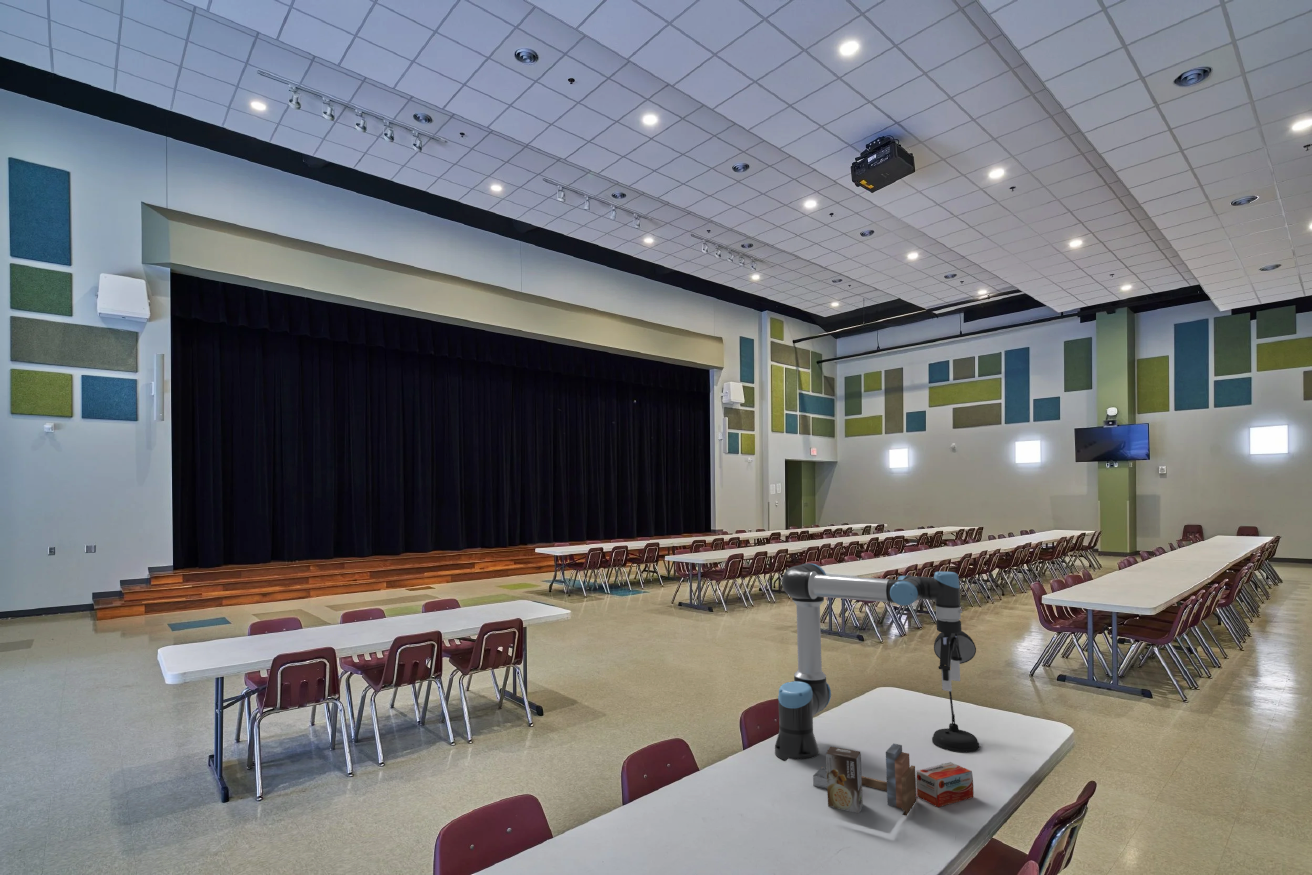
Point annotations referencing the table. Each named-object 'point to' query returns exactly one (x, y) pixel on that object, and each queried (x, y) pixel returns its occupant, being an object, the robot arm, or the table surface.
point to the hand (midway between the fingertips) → (951, 685)
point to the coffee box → (844, 779)
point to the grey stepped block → (820, 778)
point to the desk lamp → (952, 735)
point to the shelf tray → (905, 788)
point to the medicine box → (944, 784)
